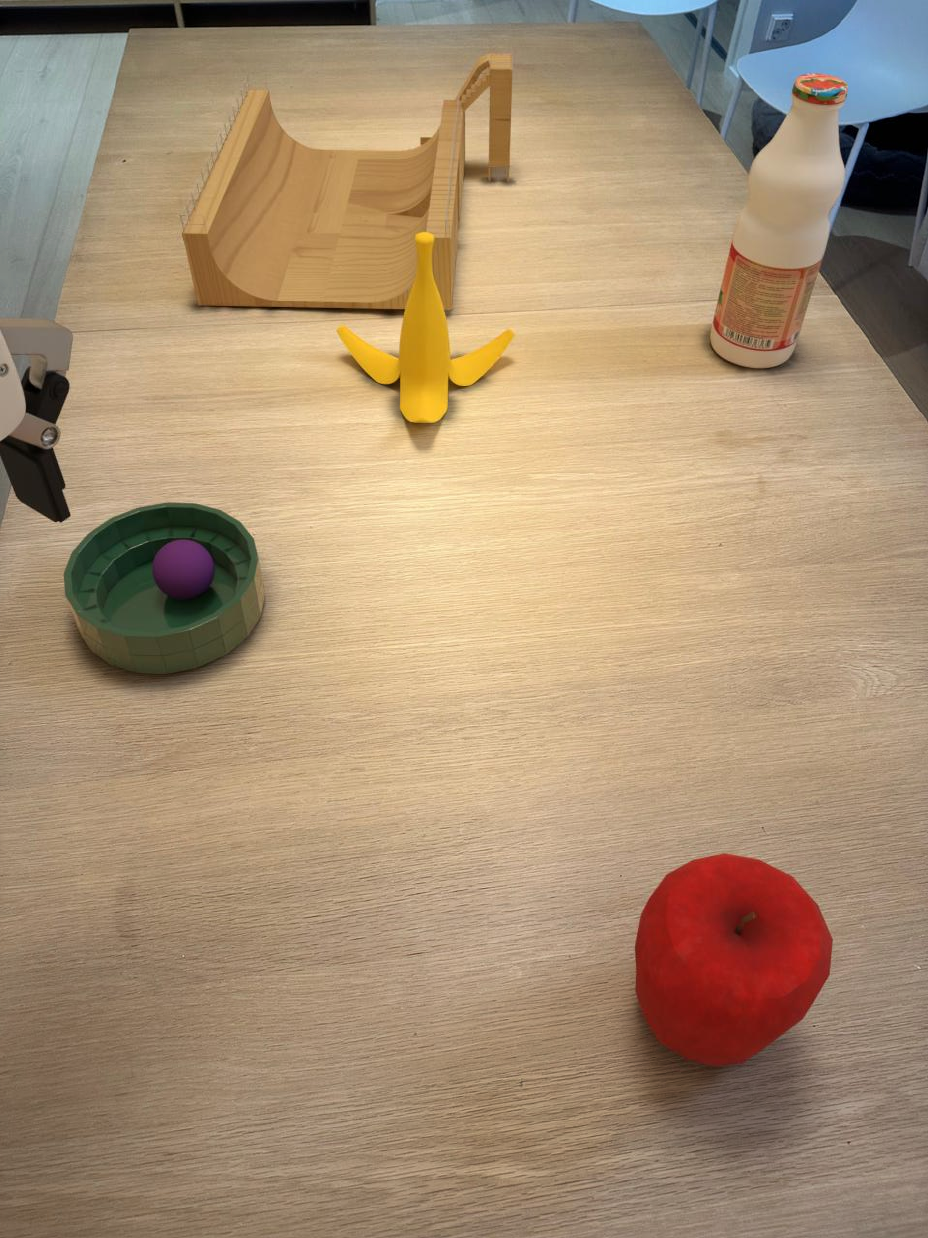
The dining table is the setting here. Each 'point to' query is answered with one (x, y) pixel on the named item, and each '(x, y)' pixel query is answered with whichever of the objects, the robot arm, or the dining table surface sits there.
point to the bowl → (145, 616)
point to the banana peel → (424, 349)
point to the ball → (183, 569)
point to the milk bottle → (782, 230)
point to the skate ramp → (335, 208)
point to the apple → (728, 958)
